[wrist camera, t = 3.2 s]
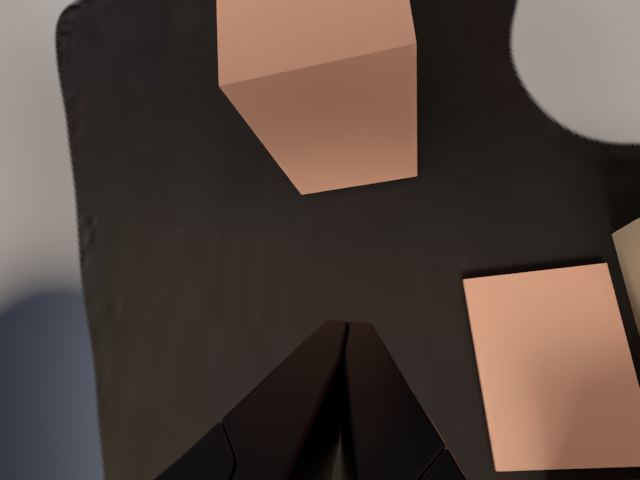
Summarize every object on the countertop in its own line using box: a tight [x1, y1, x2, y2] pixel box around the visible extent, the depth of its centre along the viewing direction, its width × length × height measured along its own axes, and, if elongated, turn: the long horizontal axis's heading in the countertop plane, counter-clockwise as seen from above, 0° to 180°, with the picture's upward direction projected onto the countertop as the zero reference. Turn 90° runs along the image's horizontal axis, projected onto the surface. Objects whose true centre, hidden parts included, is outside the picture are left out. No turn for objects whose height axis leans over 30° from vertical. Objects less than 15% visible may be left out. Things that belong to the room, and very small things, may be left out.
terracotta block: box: [217, 0, 417, 195], centre depth 18 cm, size 6×6×10 cm
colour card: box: [463, 263, 640, 471], centre depth 18 cm, size 8×6×1 cm
